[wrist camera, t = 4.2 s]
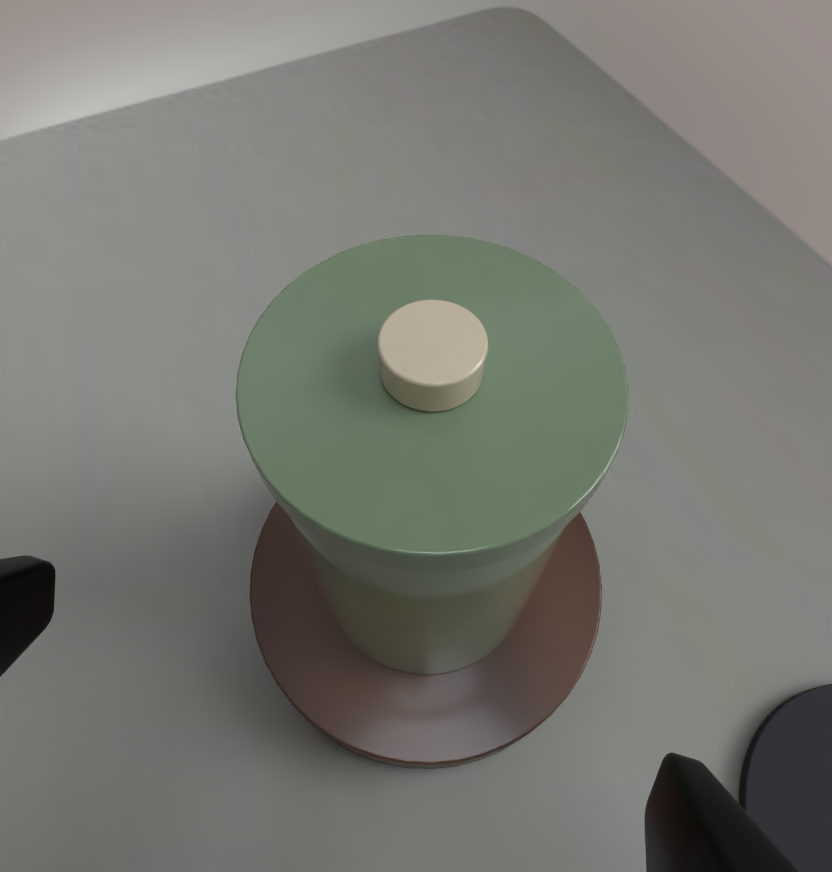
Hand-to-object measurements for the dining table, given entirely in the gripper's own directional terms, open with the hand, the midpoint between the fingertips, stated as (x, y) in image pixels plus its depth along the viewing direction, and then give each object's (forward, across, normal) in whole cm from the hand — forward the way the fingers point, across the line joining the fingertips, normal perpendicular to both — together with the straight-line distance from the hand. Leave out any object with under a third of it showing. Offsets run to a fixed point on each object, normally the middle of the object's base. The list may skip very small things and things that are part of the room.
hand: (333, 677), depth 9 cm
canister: (+11, 0, +3) cm, 11 cm away
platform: (+12, 0, +5) cm, 13 cm away
